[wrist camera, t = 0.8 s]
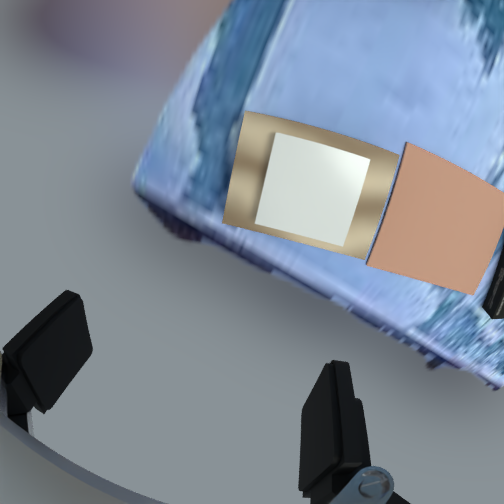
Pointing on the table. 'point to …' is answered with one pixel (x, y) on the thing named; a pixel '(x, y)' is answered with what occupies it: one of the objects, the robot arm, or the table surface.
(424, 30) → the table surface
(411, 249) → the mat
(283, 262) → the table surface
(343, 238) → the coaster
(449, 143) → the table surface
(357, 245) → the serving board
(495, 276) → the portable cd player
